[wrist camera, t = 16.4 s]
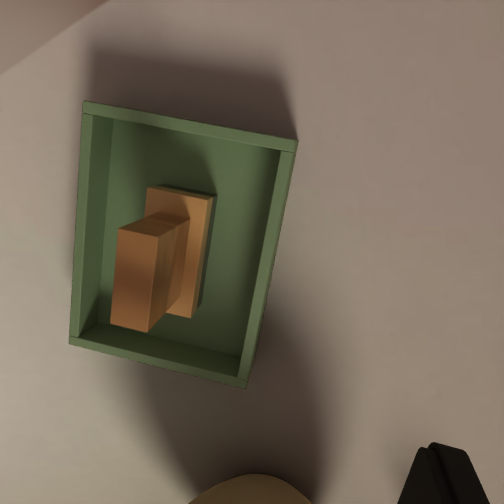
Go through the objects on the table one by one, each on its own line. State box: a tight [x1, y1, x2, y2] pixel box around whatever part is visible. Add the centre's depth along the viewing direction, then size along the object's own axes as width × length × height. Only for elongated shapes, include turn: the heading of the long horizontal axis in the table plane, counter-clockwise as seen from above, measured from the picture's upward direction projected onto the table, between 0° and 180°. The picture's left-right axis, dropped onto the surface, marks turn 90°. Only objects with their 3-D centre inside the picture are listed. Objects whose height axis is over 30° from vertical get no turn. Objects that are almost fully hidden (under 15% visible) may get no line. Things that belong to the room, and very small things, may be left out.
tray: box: [69, 101, 298, 389], centre depth 31 cm, size 19×15×4 cm
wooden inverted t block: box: [110, 184, 218, 332], centre depth 28 cm, size 9×4×9 cm, turn 170°
